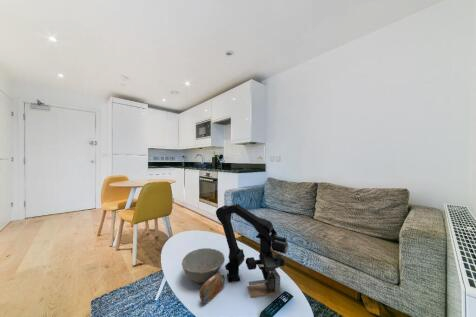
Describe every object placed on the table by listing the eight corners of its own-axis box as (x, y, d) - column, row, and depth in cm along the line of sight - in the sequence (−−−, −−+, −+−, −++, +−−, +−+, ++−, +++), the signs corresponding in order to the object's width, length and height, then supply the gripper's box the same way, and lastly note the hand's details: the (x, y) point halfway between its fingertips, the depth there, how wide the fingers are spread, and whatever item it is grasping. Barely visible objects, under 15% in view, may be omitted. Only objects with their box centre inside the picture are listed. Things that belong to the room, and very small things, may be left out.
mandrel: (246, 287, 94) (247, 271, 93) (274, 283, 97) (275, 268, 96) (250, 298, 87) (250, 281, 87) (280, 293, 90) (280, 277, 90)
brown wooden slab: (203, 307, 81) (203, 289, 81) (198, 304, 83) (198, 286, 83) (225, 287, 93) (225, 271, 93) (220, 284, 95) (220, 268, 95)
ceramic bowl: (172, 280, 98) (172, 261, 98) (204, 259, 117) (204, 244, 116) (202, 300, 85) (202, 279, 85) (232, 273, 104) (232, 256, 104)
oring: (264, 282, 95) (264, 270, 95) (269, 282, 96) (269, 270, 95) (269, 292, 89) (269, 279, 89) (273, 291, 89) (274, 278, 89)
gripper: (251, 258, 81) (251, 293, 82) (290, 254, 85) (289, 287, 86) (245, 246, 92) (245, 276, 93) (280, 242, 96) (279, 272, 96)
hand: (264, 278), depth 92 cm, fingers closed
